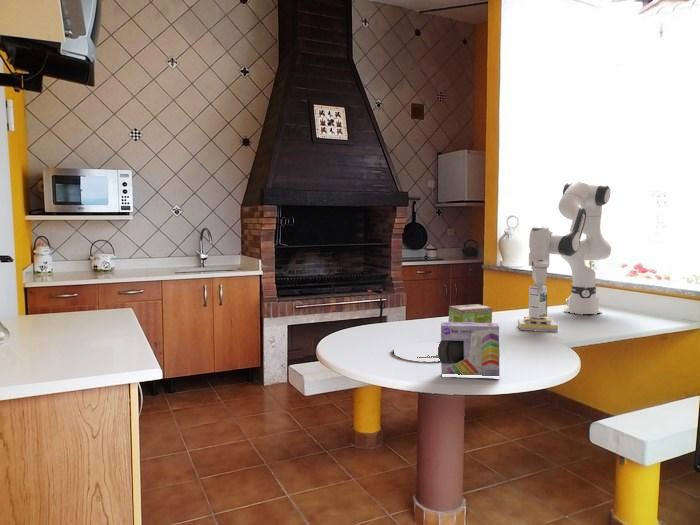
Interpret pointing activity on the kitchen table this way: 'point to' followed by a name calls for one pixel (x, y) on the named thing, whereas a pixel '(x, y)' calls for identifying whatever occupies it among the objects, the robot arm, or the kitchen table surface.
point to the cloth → (537, 320)
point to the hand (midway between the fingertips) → (538, 292)
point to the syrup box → (537, 302)
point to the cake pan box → (469, 348)
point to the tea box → (470, 313)
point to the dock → (538, 326)
